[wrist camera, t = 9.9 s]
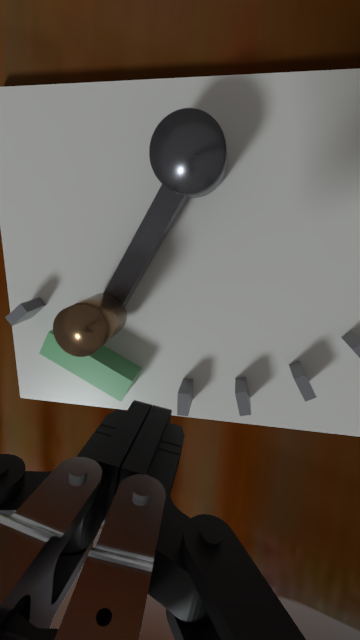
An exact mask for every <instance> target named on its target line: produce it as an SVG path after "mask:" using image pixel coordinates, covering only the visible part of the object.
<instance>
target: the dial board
mask: <svg viewBox="0 0 360 640" xmlns="http://www.w3.org/2000/svg"><path fill="white" fill-rule="evenodd" d="M183 108H195V109H200V110H202V111H204V112H206V113H208V114H209V115H211V116H212V117H213V118H214V119H215V120H216V121H217V122H218V124H219V125H220V127H221V129H222V131H223V133H224V137H225V141H226V147H227V153H228V166H227V171H226V174H225V176H224V178H223V180H222V182H221V183H220V185H219V186H218V187H217V188H216V189H215V190H214V191H212V192H211V193H210V194H208V195H206V196H203V197H199V198H187V200H186V202H185V204H184V205H183V207H182V209H181V211H180V212H179V214H178V216H177V217H176V219H175V221H174V223H173V224H172V226H171V228H170V230H169V231H168V233H167V235H166V237H165V238H164V240H163V242H162V244H161V245H160V247H159V249H158V251H157V252H156V254H155V256H154V258H153V259H152V261H151V263H150V265H149V266H148V268H147V270H146V272H145V273H144V275H143V277H142V279H141V280H140V282H139V284H138V286H137V287H136V289H135V291H134V293H133V294H132V296H131V298H130V300H129V301H128V303H127V305H126V307H125V309H126V313H127V319H126V323H125V325H124V327H123V328H122V330H121V331H119V332H118V333H117V334H116V335H115V336H113V337H112V338H111V339H110V340H109V341H107V342H106V343H105V344H104V345H103V346H101V347H100V348H99V349H98V350H97V351H95V352H94V353H93V354H91V355H89V356H85V357H77V356H73V355H70V354H68V353H67V352H65V351H64V350H63V349H62V348H61V347H60V346H59V345H58V343H57V342H56V340H55V337H54V334H53V323H54V320H55V317H56V316H57V314H58V313H59V312H60V311H61V310H63V309H65V308H67V307H69V306H71V305H74V304H76V303H78V302H80V301H83V300H85V299H87V298H89V297H91V296H94V295H96V294H99V293H104V291H105V289H106V287H107V285H108V284H109V282H110V280H111V278H112V276H113V274H114V272H115V271H116V269H117V267H118V265H119V263H120V261H121V259H122V258H123V256H124V254H125V252H126V250H127V248H128V246H129V245H130V243H131V241H132V239H133V237H134V235H135V233H136V231H137V230H138V228H139V226H140V224H141V222H142V220H143V218H144V217H145V215H146V213H147V211H148V209H149V207H150V205H151V204H152V202H153V200H154V198H155V196H156V194H157V192H158V191H159V189H160V187H161V185H162V183H161V182H160V181H159V180H158V178H157V177H156V175H155V174H154V172H153V169H152V167H151V163H150V158H149V147H150V141H151V138H152V135H153V133H154V131H155V129H156V127H157V126H158V124H159V123H160V122H161V121H162V120H163V119H164V118H165V117H166V116H167V115H169V114H170V113H172V112H174V111H176V110H179V109H183ZM0 227H1V236H2V244H3V253H4V261H5V270H6V279H7V287H8V296H9V304H10V314H9V315H7V316H6V317H5V318H6V319H7V321H8V322H9V323H10V324H11V325H12V330H13V339H14V347H15V356H16V364H17V373H18V381H19V390H20V398H27V399H35V400H44V401H53V402H61V403H70V404H79V405H88V406H96V407H105V408H114V409H123V410H128V408H129V407H130V405H131V404H132V402H133V401H134V400H136V401H140V402H144V403H148V404H151V405H156V406H159V407H163V408H167V409H171V410H172V413H171V415H175V416H184V417H192V418H201V419H210V420H219V421H227V422H236V423H245V424H253V425H262V426H271V427H280V428H288V429H297V430H306V431H315V432H323V433H332V434H341V435H349V436H358V437H360V68H359V69H340V70H320V71H301V72H281V73H262V74H242V75H223V76H203V77H184V78H164V79H145V80H125V81H106V82H86V83H67V84H47V85H28V86H8V87H0Z"/></svg>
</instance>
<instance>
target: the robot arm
mask: <svg viewBox="0 0 360 640" xmlns="http://www.w3.org/2000/svg"><path fill="white" fill-rule="evenodd" d="M171 413H172V410H171V409H167V408H163V407H159V406H156V405H151V404H148V403H144V402H140V401H136V400H134V401H133V402H132V404H131V405H130V407H129V408H128V410H127V412H126V411H122V410H118V409H117V410H115V411H113V412H112V413H110V414H108V415H107V416H106V417H105V418H104V420H103V421H102V423H101V425H99V427H98V428H97V429H96V431H95V432H94V434H93V435H92V436H91V438H90V439H89V440H88V442H87V443H86V445H85V446H84V447H83V449H82V450H81V451H80V453H79V454H78V456H77V457H73V458H69V459H67V460H65V461H63V462H61V463H60V464H59V465H58V466H57V467H56V468H55V469H54V470H53V471H48V472H35V471H25V464H24V462H23V460H22V459H21V458H19V457H17V456H15V455H10V454H0V640H139V637H140V632H141V627H142V621H143V616H144V611H145V605H146V600H147V595H148V594H149V595H150V596H152V597H153V598H154V599H155V600H156V601H158V602H159V603H160V604H161V605H163V606H164V607H165V608H166V615H167V620H168V623H169V626H170V628H171V631H172V633H173V636H174V638H175V640H306V639H305V638H304V636H303V635H302V633H301V632H300V630H299V629H298V627H297V626H296V624H295V623H294V621H293V620H292V618H291V617H290V615H289V614H288V612H287V611H286V609H285V608H284V607H283V605H282V604H281V602H280V600H279V599H278V597H277V596H276V594H275V593H274V592H273V590H272V589H271V587H270V586H269V584H268V583H267V581H266V580H265V578H264V577H263V575H262V574H261V572H260V571H259V569H258V568H257V566H256V565H255V563H254V562H253V560H252V559H251V557H250V556H249V554H248V553H247V551H246V550H245V548H244V547H243V545H242V544H241V542H240V541H239V540H238V538H237V537H236V535H235V534H234V532H233V531H232V529H231V528H230V527H229V526H228V525H227V524H226V523H225V522H224V521H223V520H221V519H219V518H217V517H215V516H212V515H206V514H203V515H197V516H195V517H193V518H189V517H188V516H186V515H185V514H183V513H182V512H181V511H180V510H179V509H177V507H176V506H175V505H174V503H173V502H172V500H171V497H170V494H171V490H172V487H173V483H174V480H175V476H176V472H177V469H178V464H179V459H180V455H181V450H182V445H183V441H184V433H183V430H182V427H181V426H178V425H175V424H171V423H170V418H171ZM100 526H103V529H102V531H101V534H100V537H99V539H98V542H97V545H96V547H95V548H92V547H93V542H94V539H95V537H96V535H97V533H98V531H99V529H100ZM82 566H83V568H82ZM81 568H82V571H81V573H80V576H79V578H78V581H77V583H76V586H75V588H74V591H73V594H72V596H71V599H70V601H69V604H68V606H67V609H66V612H65V614H64V616H63V619H62V622H61V624H60V627H59V629H50V626H51V624H52V621H53V619H54V617H55V615H56V613H57V611H58V609H59V607H60V605H61V604H62V602H63V600H64V598H65V597H66V595H67V593H68V591H69V589H70V588H71V586H72V584H73V582H74V581H75V579H76V577H77V575H78V573H79V572H80V570H81Z"/></svg>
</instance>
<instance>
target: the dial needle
mask: <svg viewBox="0 0 360 640" xmlns="http://www.w3.org/2000/svg"><path fill="white" fill-rule="evenodd" d="M149 158H150V163H151V167H152V169H153V172H154V174H155V175H156V177H157V178H158V180H159V181H160V182H161V183H162V185H161V187H160V189H159V191H158V192H157V194H156V196H155V198H154V200H153V202H152V204H151V205H150V207H149V209H148V211H147V213H146V215H145V217H144V218H143V220H142V222H141V224H140V226H139V228H138V230H137V231H136V233H135V235H134V237H133V239H132V241H131V243H130V245H129V246H128V248H127V250H126V252H125V254H124V256H123V258H122V259H121V261H120V263H119V265H118V267H117V269H116V271H115V272H114V274H113V276H112V278H111V280H110V282H109V284H108V285H107V287H106V289H105V291H104V293H99V294H96V295H94V296H91V297H89V298H87V299H85V300H83V301H80V302H78V303H76V304H74V305H71V306H69V307H67V308H65V309H63V310H61V311H60V312H59V313H58V314H57V316H56V317H55V320H54V323H53V334H54V337H55V340H56V342H57V343H58V345H59V346H60V347H61V348H62V349H63V350H64V351H65V352H67V353H68V354H70V355H73V356H77V357H85V356H89V355H91V354H93V353H94V352H95V351H97V350H98V349H99V348H100V347H101V346H103V345H104V344H105V343H106V342H107V341H109V340H110V339H111V338H112V337H113V336H115V335H116V334H117V333H118V332H119V331H121V330H122V328H123V327H124V325H125V323H126V319H127V313H126V309H125V307H126V305H127V303H128V301H129V300H130V298H131V296H132V294H133V293H134V291H135V289H136V287H137V286H138V284H139V282H140V280H141V279H142V277H143V275H144V273H145V272H146V270H147V268H148V266H149V265H150V263H151V261H152V259H153V258H154V256H155V254H156V252H157V251H158V249H159V247H160V245H161V244H162V242H163V240H164V238H165V237H166V235H167V233H168V231H169V230H170V228H171V226H172V224H173V223H174V221H175V219H176V217H177V216H178V214H179V212H180V211H181V209H182V207H183V205H184V204H185V202H186V200H187V198H199V197H203V196H206V195H208V194H210V193H211V192H212V191H214V190H215V189H216V188H217V187H218V186H219V185H220V183H221V182H222V180H223V178H224V176H225V174H226V171H227V166H228V153H227V147H226V141H225V137H224V133H223V131H222V129H221V127H220V125H219V124H218V122H217V121H216V120H215V119H214V118H213V117H212V116H211V115H209V114H208V113H206V112H204V111H202V110H200V109H195V108H183V109H179V110H176V111H174V112H172V113H170V114H169V115H167V116H166V117H165V118H164V119H163V120H162V121H161V122H160V123H159V124H158V126H157V127H156V129H155V131H154V133H153V135H152V138H151V141H150V147H149Z"/></svg>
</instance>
